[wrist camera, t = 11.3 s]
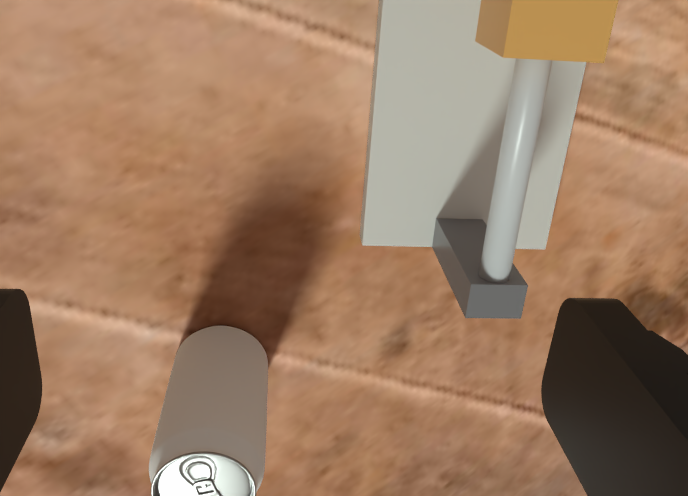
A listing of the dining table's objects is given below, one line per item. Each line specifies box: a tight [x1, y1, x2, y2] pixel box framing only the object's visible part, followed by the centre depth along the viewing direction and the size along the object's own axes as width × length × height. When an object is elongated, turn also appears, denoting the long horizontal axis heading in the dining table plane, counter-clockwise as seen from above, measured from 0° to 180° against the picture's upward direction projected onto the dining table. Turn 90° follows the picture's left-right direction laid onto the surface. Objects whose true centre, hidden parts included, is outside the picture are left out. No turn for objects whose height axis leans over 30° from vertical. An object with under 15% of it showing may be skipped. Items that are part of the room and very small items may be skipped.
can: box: [149, 326, 268, 496], centre depth 41 cm, size 6×6×12 cm
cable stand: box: [360, 0, 586, 318], centre depth 33 cm, size 12×26×11 cm, turn 176°
